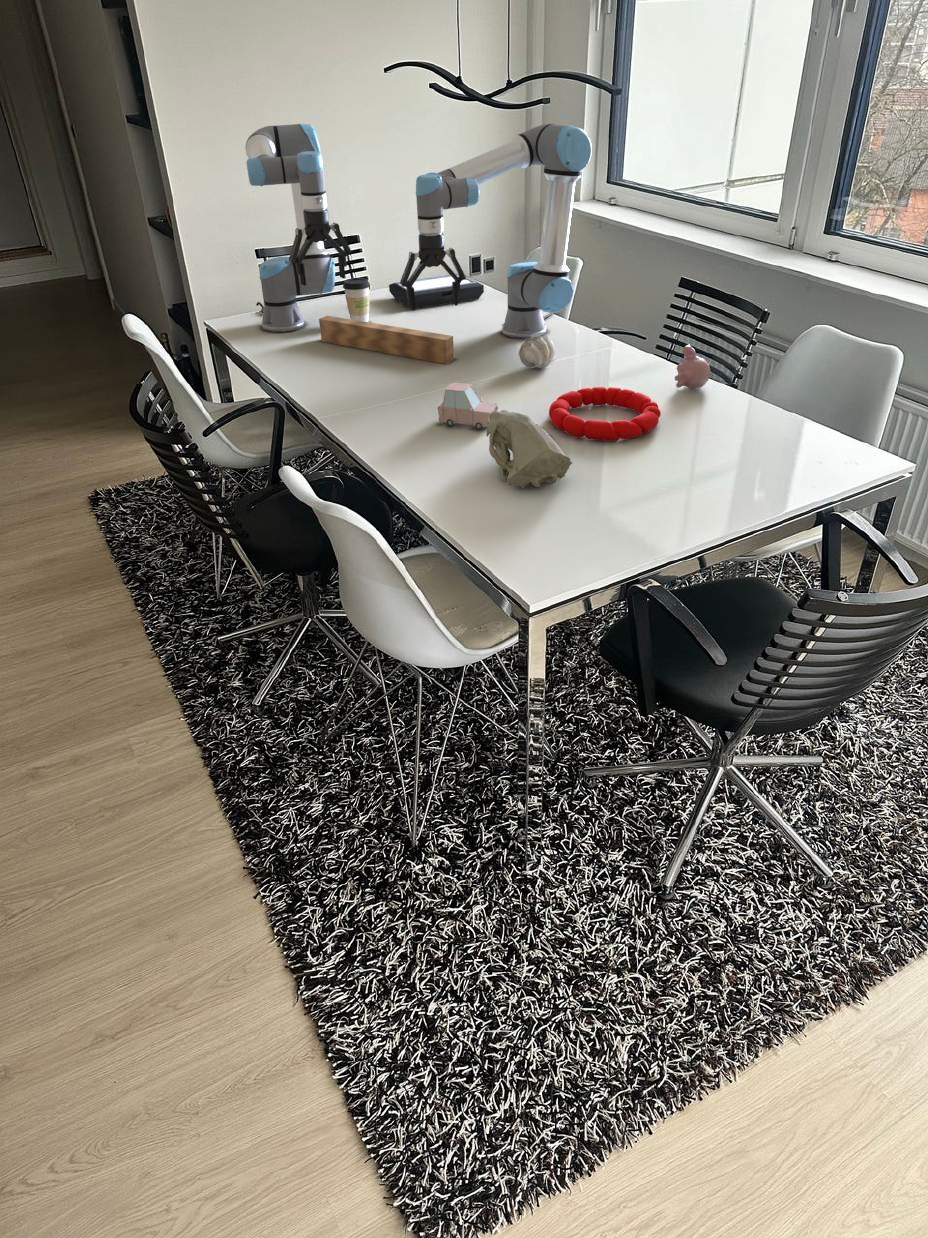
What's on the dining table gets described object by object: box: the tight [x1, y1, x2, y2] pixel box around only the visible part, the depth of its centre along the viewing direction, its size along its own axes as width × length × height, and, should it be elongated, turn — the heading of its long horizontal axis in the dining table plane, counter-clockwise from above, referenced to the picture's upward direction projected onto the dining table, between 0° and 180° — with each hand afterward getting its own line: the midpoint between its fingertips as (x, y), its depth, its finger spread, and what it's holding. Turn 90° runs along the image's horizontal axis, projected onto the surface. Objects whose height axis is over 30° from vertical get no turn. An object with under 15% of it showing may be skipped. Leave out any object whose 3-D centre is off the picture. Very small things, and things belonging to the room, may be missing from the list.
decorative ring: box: [548, 386, 661, 442], centre depth 242 cm, size 7×30×30 cm
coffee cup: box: [342, 277, 371, 322], centre depth 323 cm, size 10×10×15 cm
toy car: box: [437, 382, 499, 431], centre depth 243 cm, size 9×15×10 cm, turn 70°
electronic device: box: [388, 273, 485, 310], centre depth 349 cm, size 32×6×20 cm
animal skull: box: [485, 409, 573, 489], centre depth 216 cm, size 17×25×20 cm
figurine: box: [674, 344, 711, 390], centre depth 259 cm, size 9×11×12 cm
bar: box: [318, 315, 455, 365], centre depth 298 cm, size 52×5×8 cm, turn 58°
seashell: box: [518, 335, 556, 369], centre depth 279 cm, size 10×15×10 cm
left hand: (323, 281), depth 284 cm, fingers open, 13 cm apart
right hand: (434, 306), depth 275 cm, fingers open, 13 cm apart
